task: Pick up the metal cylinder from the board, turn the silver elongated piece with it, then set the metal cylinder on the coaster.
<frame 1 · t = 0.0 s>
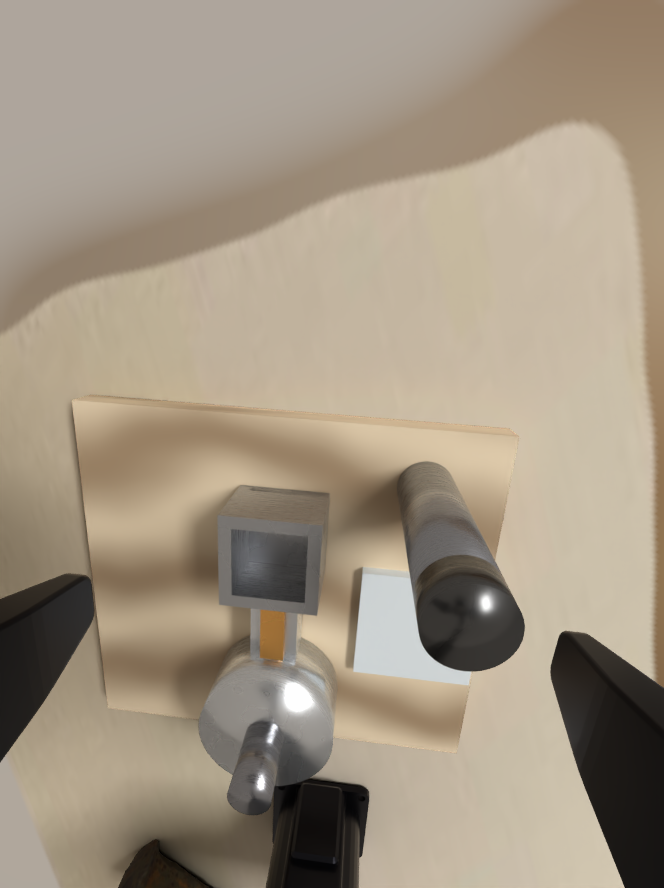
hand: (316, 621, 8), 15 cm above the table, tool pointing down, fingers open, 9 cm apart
board: (287, 577, 25), on the table
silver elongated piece: (267, 663, 21), point 5 cm above the table, hinge at 0.0°
coaster: (416, 623, 23), resting on board
metal cylinder: (425, 488, 21), point 1 cm above the table, touching board
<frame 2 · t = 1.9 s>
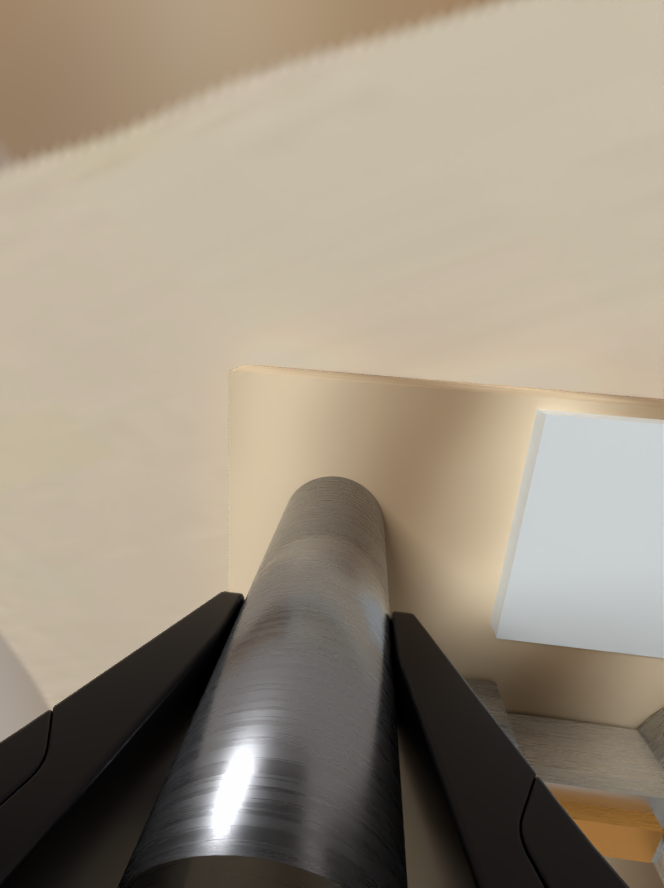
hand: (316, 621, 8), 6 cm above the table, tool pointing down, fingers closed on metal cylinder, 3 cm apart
board: (520, 702, 15), on the table
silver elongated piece: (656, 886, 10), point 5 cm above the table, hinge at 0.0°
coaster: (634, 537, 11), resting on board
metal cylinder: (333, 523, 12), point 2 cm above the table, touching board, gripper
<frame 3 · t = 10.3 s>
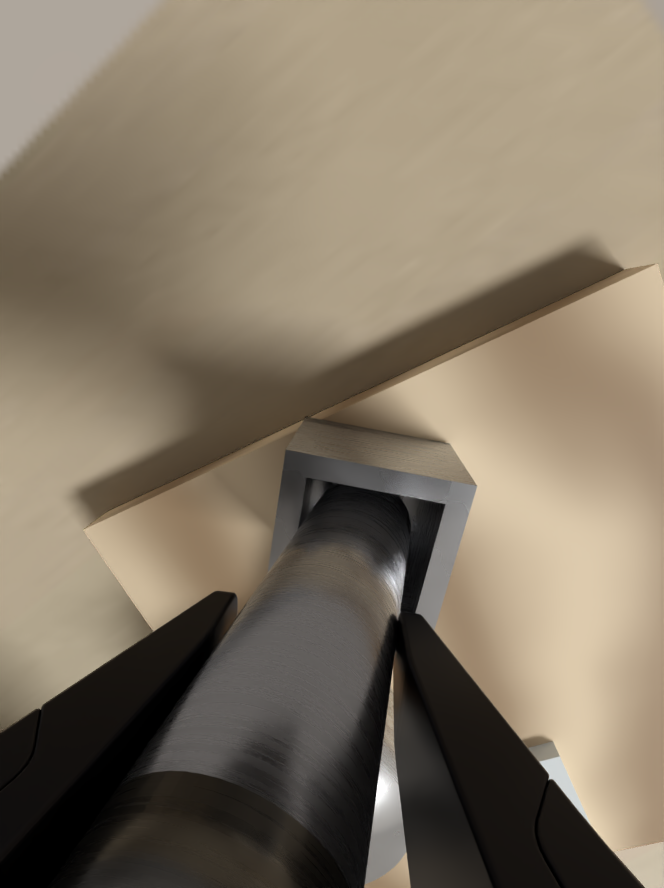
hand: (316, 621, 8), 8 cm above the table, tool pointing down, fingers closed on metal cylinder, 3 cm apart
board: (450, 645, 17), on the table
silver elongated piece: (326, 710, 13), point 5 cm above the table, hinge at 54.1°, touching metal cylinder
coaster: (501, 815, 18), resting on board
metal cylinder: (361, 523, 12), point 4 cm above the table, tilted 9°, touching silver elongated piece, gripper
when the fingers open (7 cm above the table, at t = 13.8 s): metal cylinder stays where it is, resting on coaster.
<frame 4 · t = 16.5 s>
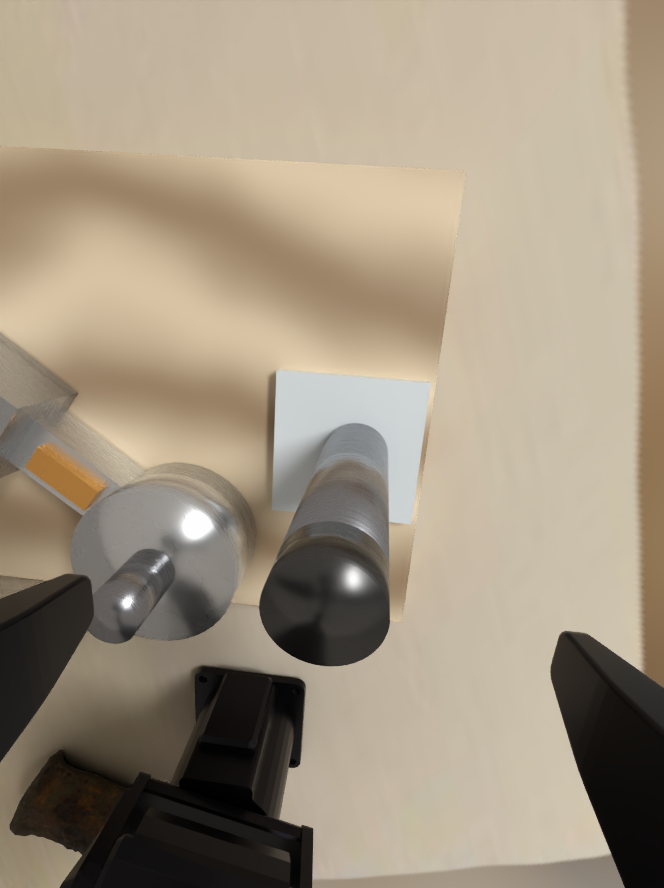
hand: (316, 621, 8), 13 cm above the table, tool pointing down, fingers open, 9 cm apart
board: (196, 403, 21), on the table
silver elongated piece: (66, 501, 17), point 5 cm above the table, hinge at 54.1°
coaster: (347, 446, 19), resting on board
metal cylinder: (355, 454, 18), point 2 cm above the table, touching coaster
hand tool: (185, 799, 29), on the table
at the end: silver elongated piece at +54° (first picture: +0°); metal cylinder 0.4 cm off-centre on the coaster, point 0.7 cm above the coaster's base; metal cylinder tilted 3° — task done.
